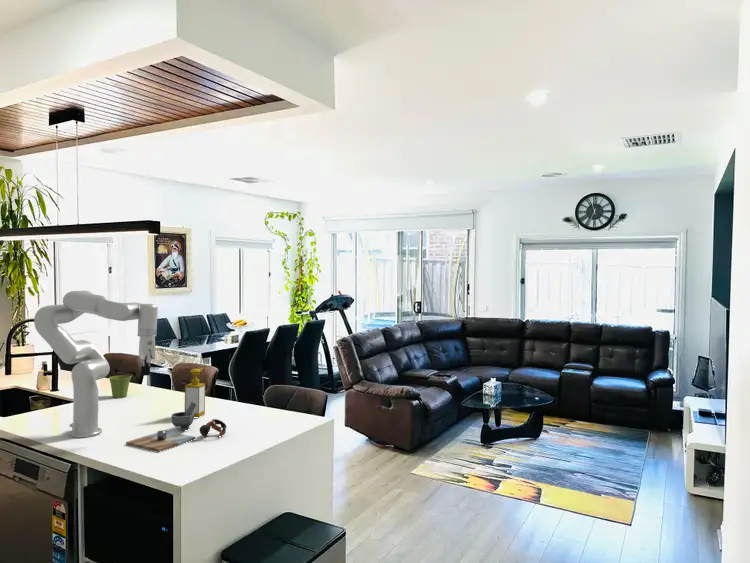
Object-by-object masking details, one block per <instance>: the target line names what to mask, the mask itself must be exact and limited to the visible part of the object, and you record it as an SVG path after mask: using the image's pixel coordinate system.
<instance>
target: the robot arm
mask: <svg viewBox="0 0 750 563" xmlns="http://www.w3.org/2000/svg"><path fill="white" fill-rule="evenodd" d="M158 309H159V308H158V305H157V304H155V303H141V302H116V301H113V300H107V298H106V297H105V296H104V295H100V294H94V293H92V292H91V291H89V290H73V291H68V292H67V293H66V294H64V295H63V297H62V304H50V305H45V306H42V307H40V308H39V309H38V310H37V311H36V312H35V315H34V318H33V324H34V327H35V330H36V332H37V333H38V335H39V336H40V337H41V338H42V339H43V340H44V341H45V342H46V343H47V344H48V345H49V347H50V348H51V349H52V350H53V351H54V353H55V354H56V355H57V356H58V357H59V358H60V360H61V361H62V362H63V363H65V364H68V365H73V364H75V365H74V367H73V368H72V370H71V375H70V376H71V381H72V388H73V390H72V392H73V404H72V406H73V409H72V411H73V412H72V413H73V414H72V418H73V419H72V423H70V424H69V427H70V428H72V429H71V430H69V432H68V436H69V437H70V438H77V439H79V438H88V437H94V436H97V435H100V434H101V433H102V432H103V431H102V430H103V428H100V427H99V388H98V385H97V381H98V380H101V379H105V378H106V377H107V376H108V375H109V373H110V369H111V368H110V363H109V362H108V360H107V359H106V358H105V356H104V355H103V354H102V353H101V352H100V350H99V349H98V348H97V347H96V346H95V344H94V343H92V342H90V341H88V340H86V339H85V340H84V339H81V340H80V339H79V340H75V339H74V338H73V337H72V336H71V335H70V334H69V332H68V331H67V330H65V329H64V328H63V327H61V326H59V325H61V324H62V325H63V324H67V323H71V322H73V321H74V320H77V319H78V318H79V317H81V316H82V315H84V314H89V315H90V314H91V315H95V316H97V317H101V318H104V319H109V320H112V321H113V320H114V321H119V322H127V321H135V320H137V337H139V343H138V357H139V358H140V360H141V363H140V364H141V366H140V375H141V376H142V377H143V376H144V377H146V376H150V375H151V374H150V372H151V371H150V370H151V359H152V360H155V359H156V337H157V334H158V333H157V330H158V313H159V312H158Z"/></svg>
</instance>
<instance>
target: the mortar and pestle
mask: <svg viewBox="0 0 750 563" xmlns="http://www.w3.org/2000/svg"><path fill="white" fill-rule="evenodd" d="M196 405H197V404H196V403H195V402H191V405H190V406H189V408H188V410H187V411H186V412H185V411H180V412H174V413H172V414H171V423H172V425H173V426H174V427H177V426H179V427H181V431H183V432H186V431H185V430H188V429H190V428H191V427H190V426H191V425H192V424H193V422H194V419H195V418H194V413H192V412H193V410H194V408H195V406H196ZM190 430H191V429H190ZM188 431H189V430H188Z"/></svg>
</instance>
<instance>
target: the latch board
mask: <svg viewBox="0 0 750 563" xmlns="http://www.w3.org/2000/svg"><path fill="white" fill-rule="evenodd" d="M194 439H196V436H192V435H188V434H183V433H181V434H179V435H175V436H172V437H168V438H166V439H163V440H158V439H157V432H155V433H154V432H153V433H151V434H148V435H145V436H141V437H138V438H134V439H131V440H129V441H126V442H125V445H126V446H129V447H133V448H137V447H138V449H142V448H143V449H144V450H146V449H148V451H151V450H152V452H155V451H157V452H156V453H161V452H160V451H162V452H164V451H163V450H165V451H167V450H166V449H168V450H170V449H172V447H173V448H176V447H179V446H182V445H184V444H183V443H185V444H187V443H186V442H188V443H190V442H189V441H191V440H193V441H195V440H194ZM191 442H192V441H191ZM181 444H182V445H181ZM178 445H179V446H178ZM175 446H176V447H175ZM169 448H170V449H169ZM143 449H142V450H143Z"/></svg>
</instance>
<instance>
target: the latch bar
mask: <svg viewBox="0 0 750 563" xmlns="http://www.w3.org/2000/svg"><path fill="white" fill-rule="evenodd" d="M156 433H157V439H158V440H163V439H166V438H168V437H172V436H175V435H179V434H182V432H181V427H179V426H177V427H175V426H174V427H170V428H167V429H163V430H162V429H161V430H157V432H156Z"/></svg>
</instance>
